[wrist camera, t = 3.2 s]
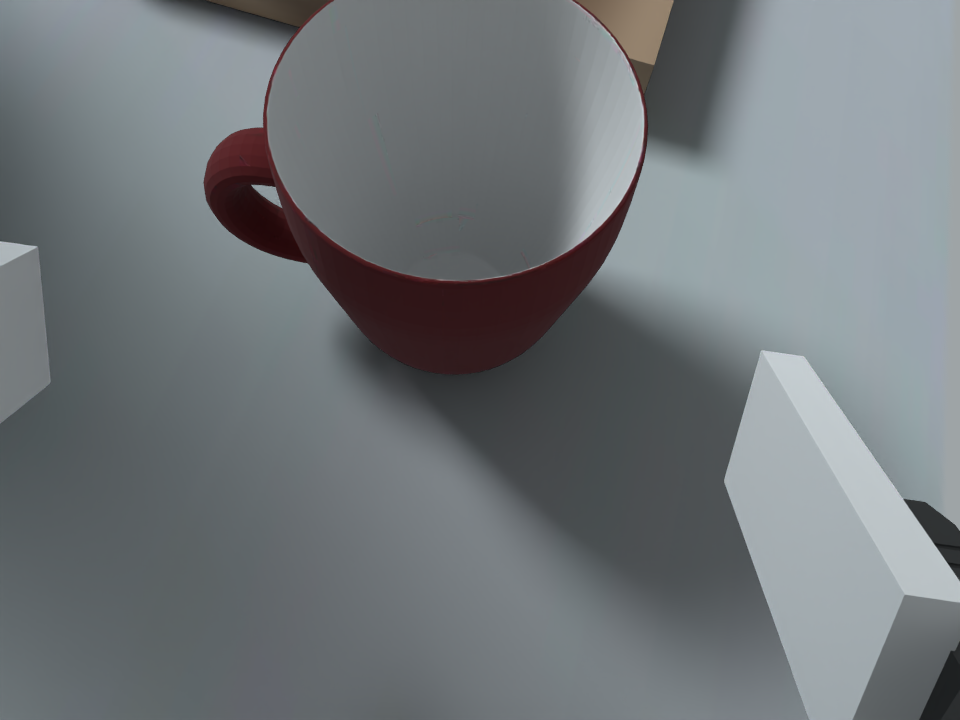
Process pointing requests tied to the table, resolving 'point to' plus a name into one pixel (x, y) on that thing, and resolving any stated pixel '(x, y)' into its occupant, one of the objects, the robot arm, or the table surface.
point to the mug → (442, 168)
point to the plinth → (616, 3)
